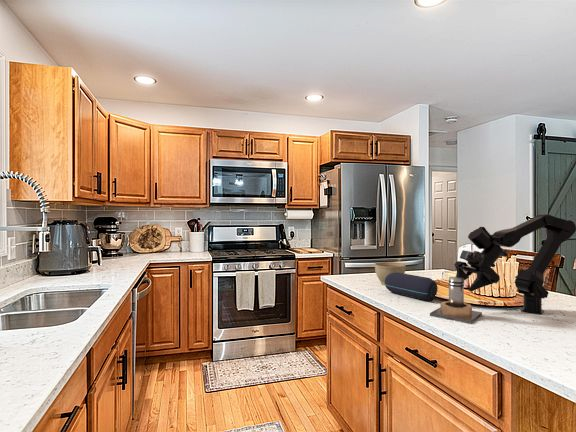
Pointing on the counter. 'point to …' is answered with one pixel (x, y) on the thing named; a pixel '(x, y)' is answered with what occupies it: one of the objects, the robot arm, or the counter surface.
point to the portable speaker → (411, 286)
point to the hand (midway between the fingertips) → (461, 287)
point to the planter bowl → (388, 269)
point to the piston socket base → (456, 313)
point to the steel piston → (456, 291)
